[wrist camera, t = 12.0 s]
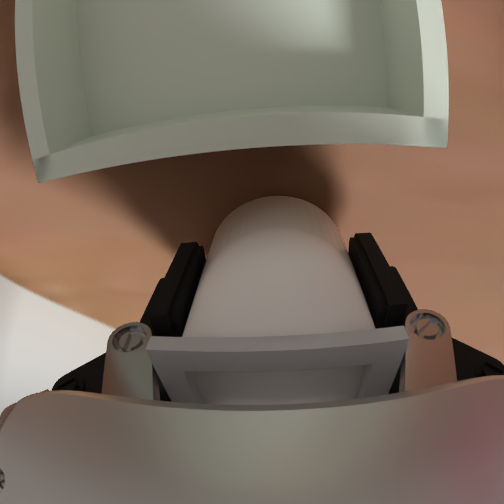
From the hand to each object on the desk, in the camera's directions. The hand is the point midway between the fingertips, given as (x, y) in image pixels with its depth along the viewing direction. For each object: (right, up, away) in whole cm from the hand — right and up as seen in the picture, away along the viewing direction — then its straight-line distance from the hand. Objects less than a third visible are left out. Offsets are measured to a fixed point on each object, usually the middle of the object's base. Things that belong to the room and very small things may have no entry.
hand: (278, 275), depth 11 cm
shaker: (0, +1, +1) cm, 1 cm away
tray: (-3, +15, -6) cm, 16 cm away
